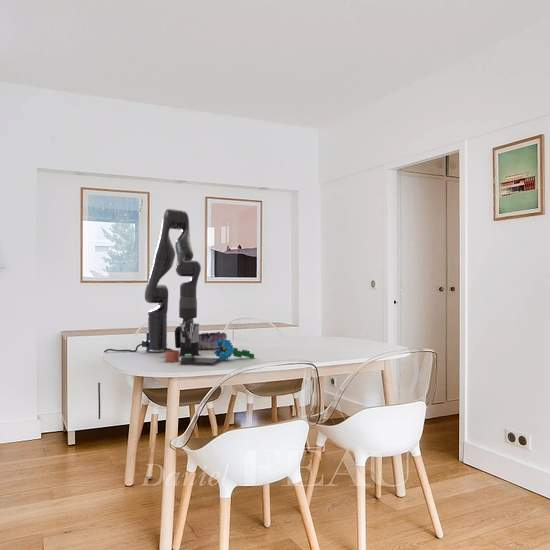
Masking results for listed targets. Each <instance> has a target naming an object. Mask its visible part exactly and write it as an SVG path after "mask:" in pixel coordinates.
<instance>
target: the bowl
mask: <svg viewBox="0 0 550 550" xmlns="http://www.w3.org/2000/svg"><path fill="white" fill-rule="evenodd" d="M179 352H180V350H177V349H172V350H168V351H165V353H164V361H165V362H166V363H176V362H179V361H180V353H179Z"/></svg>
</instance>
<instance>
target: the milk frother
mask: <svg viewBox="0 0 550 550" xmlns="http://www.w3.org/2000/svg"><path fill="white" fill-rule="evenodd" d="M194 324H195V325H196V326H195V330H194V334H193V336H192V338H191V347H189V348H188V347H185V339H184V338H183V337H182V333H181V330H180V327H182V323H180V324H179V325H178V326H176V328H175V329H174V346H175V348H176V349H179V356H182V357H183V356H185V354H191V356H194V357H196V356H199V355H200V349H199V342H198V341H199V334H200V323H195V322H194ZM168 350H173V349H172V348H168V347H167V348H165V349H164V352H163V353H164V354H165V351H168Z"/></svg>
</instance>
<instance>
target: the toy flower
mask: <svg viewBox="0 0 550 550" xmlns="http://www.w3.org/2000/svg"><path fill="white" fill-rule="evenodd" d="M216 344H217V346H220V348H218V349H214V351H213V354H214V355H215V357H217V358H220V361H227V360H228V359H229V358H231V356H233V357H236V358H242V357H246V358H251V359H255V354H254V353H251V351H250V350H246V349H241V350H238V349H239V348H237V347H234V345H233V344H232V342H231V340H229V339H226V340H225V339H223V341H221V340H220V341H219V342H216Z"/></svg>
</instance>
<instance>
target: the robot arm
mask: <svg viewBox="0 0 550 550" xmlns="http://www.w3.org/2000/svg"><path fill="white" fill-rule="evenodd" d="M190 227H191V226H190V216H189V214H188V212H187V211H186V210H183V209H176V208H166V210H165V211H164V214H163V218H162V223H161V229H160V235H159V240H158V242H157V247H156V250H155V255H154V259H153V263H152V264H153V265H152V266H151V267H152V268H151V271H150V275H149V277H148V281H147V284H146V287H145V290H144V301H145V302H146V303H147V304H157V306H156V307H155V308H153V309H150V310H149V311H148V312H147V332H146V338H145V339H144V340H142V341H141V343H139V344H138V345H136V347H135V349H134V350H132V349H114V348H107V349H105V350H104V351H103V353H108V352H109V351H111V352H130V353H135V352H137V351H138V348H139V347H141V348H146V350H145V351H146V353H147V352H149V353H164V349H165V348H168V309H169V289H168V286H167V285H166V284H159V282H160V281H161V279H162V278H163V277H164V276H166V275H167V273H168V272H169V271H170V270H171V269H172V268H173V265H174V262H175V258H176V259H177V260H176V267H175V273H176V275H178V276H179V277H181V278H182V277H183V278H184V277H187V278H188V277H191V278H190V280H188V281H184V282H182V283H180V285H179V302H178V312H179V313H178V317H179V318H180V319H182V323H181V324H182V327H180V330H181V333H182V337H183V338H184V339H185V347H188V348H189V347H191V338H192V336H193V334H194V330H195V326H196V325H195V324H194V323H195V322H194V319H197V317H198V298H197V286H198V282H199V278H200V274H201V271H202V265H201V263H200V261H199V260H196V259H194V251H193V246H192V242H191V229H190ZM170 230H179V231H181V233H180V235H179V236H178V238H177V239H176V242H175V247H174V245H173V243H172V241H171V237H170ZM97 394H98V395H97V396H98V420H101V382H98V383H97Z"/></svg>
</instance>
